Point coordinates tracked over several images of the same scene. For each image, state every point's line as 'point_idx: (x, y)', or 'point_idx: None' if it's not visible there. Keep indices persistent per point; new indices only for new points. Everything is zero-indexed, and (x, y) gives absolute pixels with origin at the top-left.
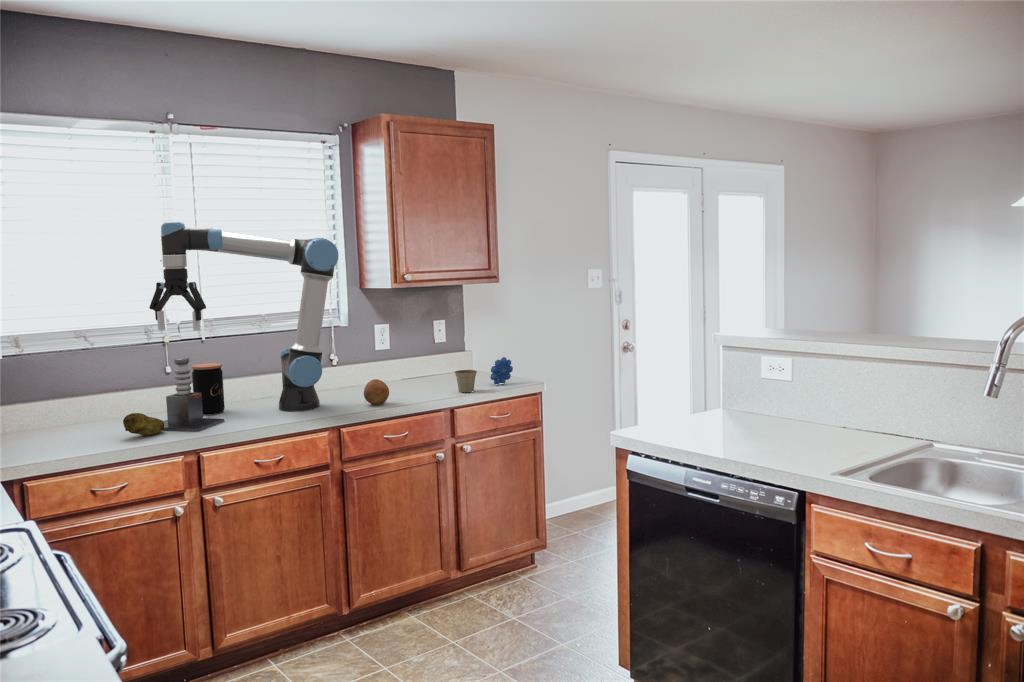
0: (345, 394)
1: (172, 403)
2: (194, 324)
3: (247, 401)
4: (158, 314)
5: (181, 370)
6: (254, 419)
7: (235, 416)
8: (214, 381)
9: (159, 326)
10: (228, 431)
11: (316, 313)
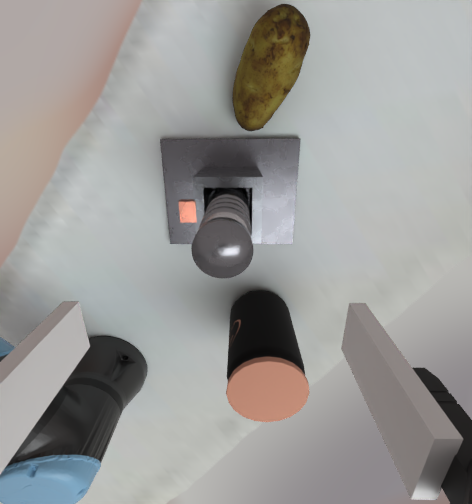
0: (106, 456)
1: (242, 174)
2: (39, 329)
3: None
4: (420, 404)
5: (212, 215)
6: (123, 267)
7: (182, 287)
8: (232, 345)
9: (363, 321)
10: (95, 153)
11: None
